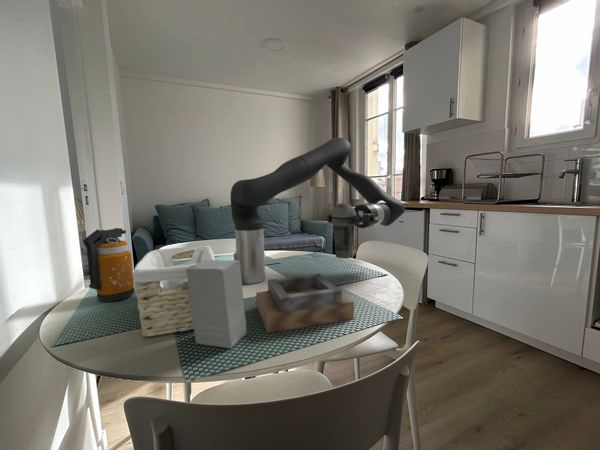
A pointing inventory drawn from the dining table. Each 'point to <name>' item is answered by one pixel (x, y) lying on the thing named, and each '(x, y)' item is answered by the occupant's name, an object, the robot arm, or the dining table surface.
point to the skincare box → (217, 302)
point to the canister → (109, 265)
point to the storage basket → (166, 289)
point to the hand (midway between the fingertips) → (339, 219)
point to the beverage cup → (343, 229)
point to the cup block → (302, 303)
